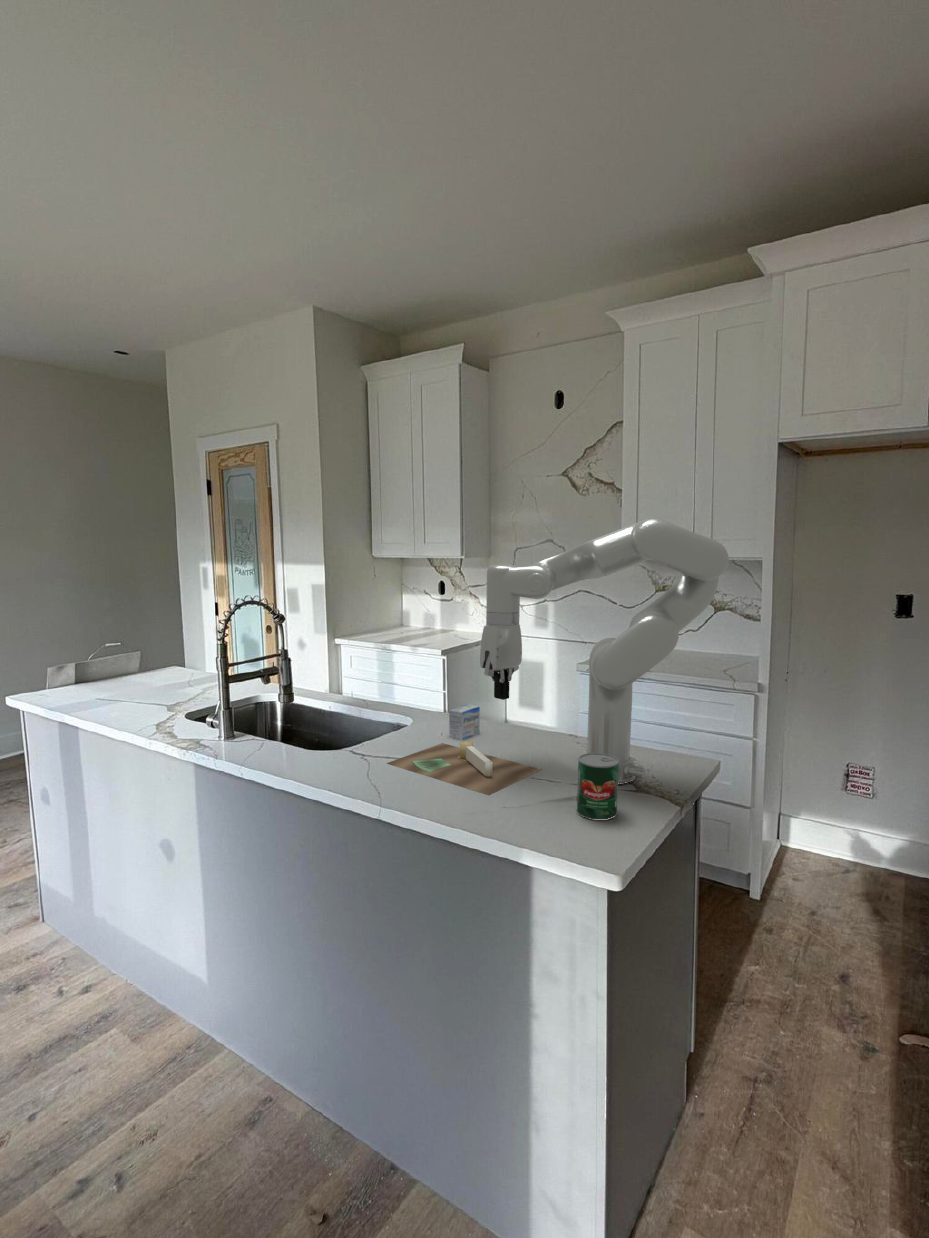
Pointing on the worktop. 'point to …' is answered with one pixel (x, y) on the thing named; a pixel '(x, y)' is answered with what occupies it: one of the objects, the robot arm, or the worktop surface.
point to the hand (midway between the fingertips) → (501, 698)
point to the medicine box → (464, 722)
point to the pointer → (475, 758)
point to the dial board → (463, 769)
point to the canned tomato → (597, 785)
